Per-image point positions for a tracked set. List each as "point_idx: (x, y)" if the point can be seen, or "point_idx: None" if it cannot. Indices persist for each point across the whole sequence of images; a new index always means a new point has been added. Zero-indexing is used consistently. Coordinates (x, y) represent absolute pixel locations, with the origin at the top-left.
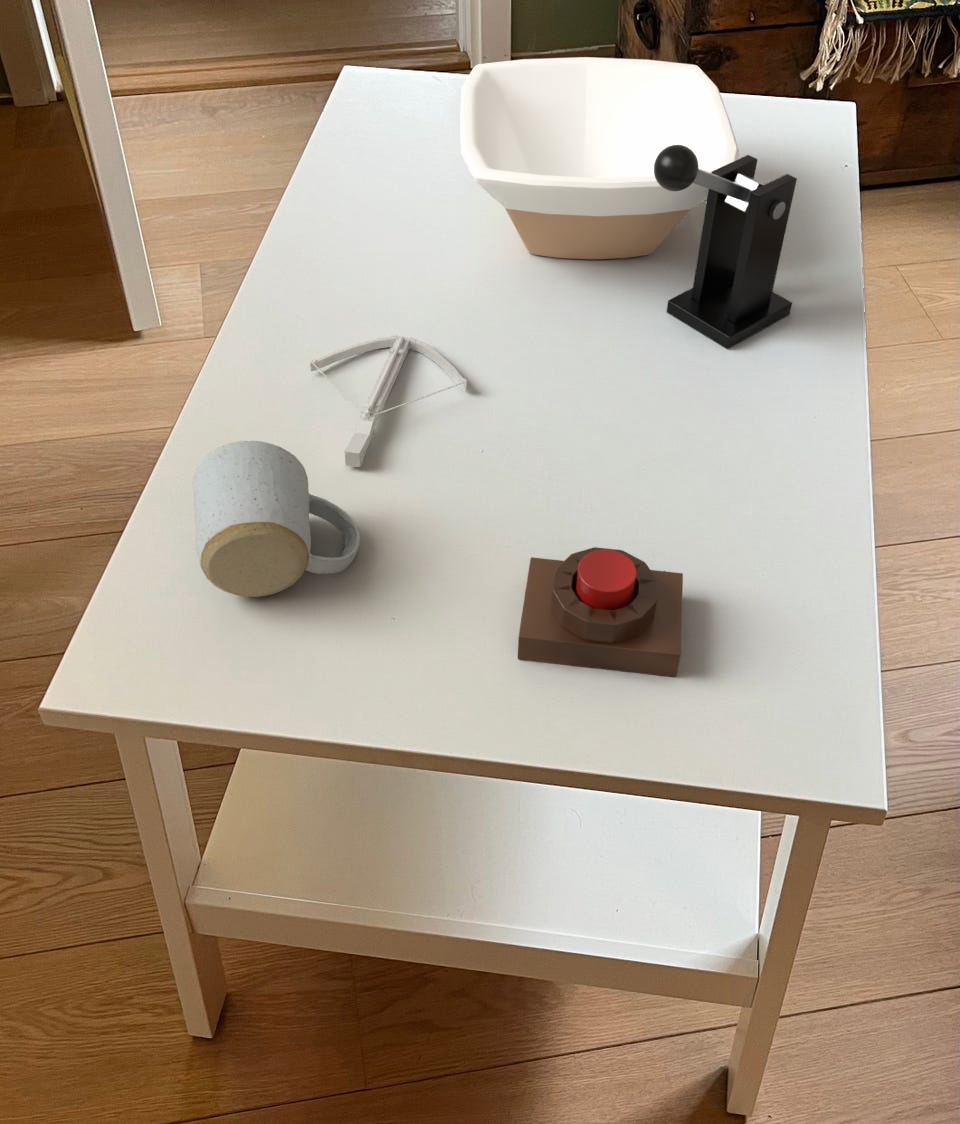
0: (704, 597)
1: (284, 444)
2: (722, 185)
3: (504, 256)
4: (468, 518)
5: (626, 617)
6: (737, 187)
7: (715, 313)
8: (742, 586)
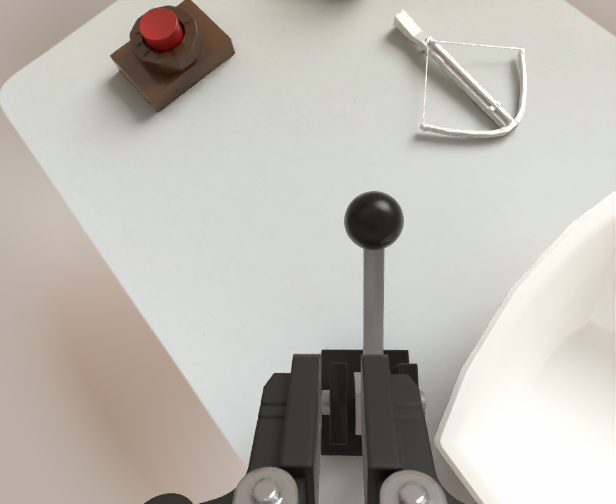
0: (145, 123)
1: (452, 4)
2: (363, 320)
3: None
4: (305, 56)
5: (136, 27)
6: None
7: (360, 371)
8: (133, 148)
